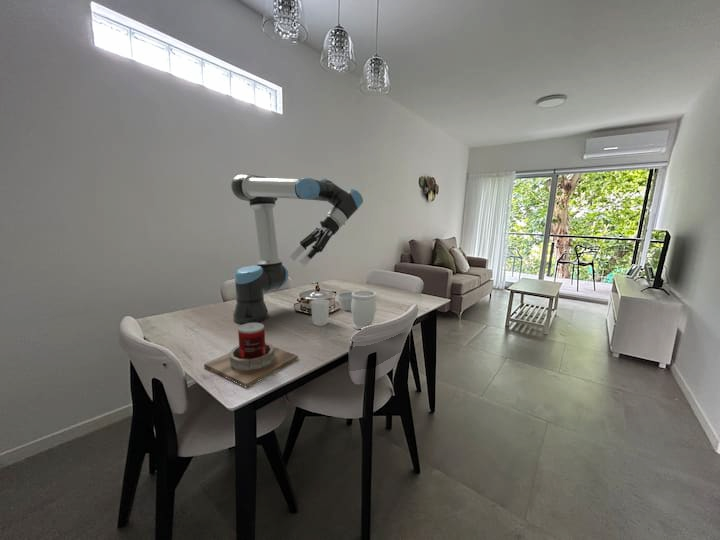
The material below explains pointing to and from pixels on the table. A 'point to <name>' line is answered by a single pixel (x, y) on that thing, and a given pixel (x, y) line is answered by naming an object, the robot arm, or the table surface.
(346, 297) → the ramekin
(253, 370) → the cup holder
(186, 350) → the table surface
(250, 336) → the canned food
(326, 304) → the white cup
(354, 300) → the jar
